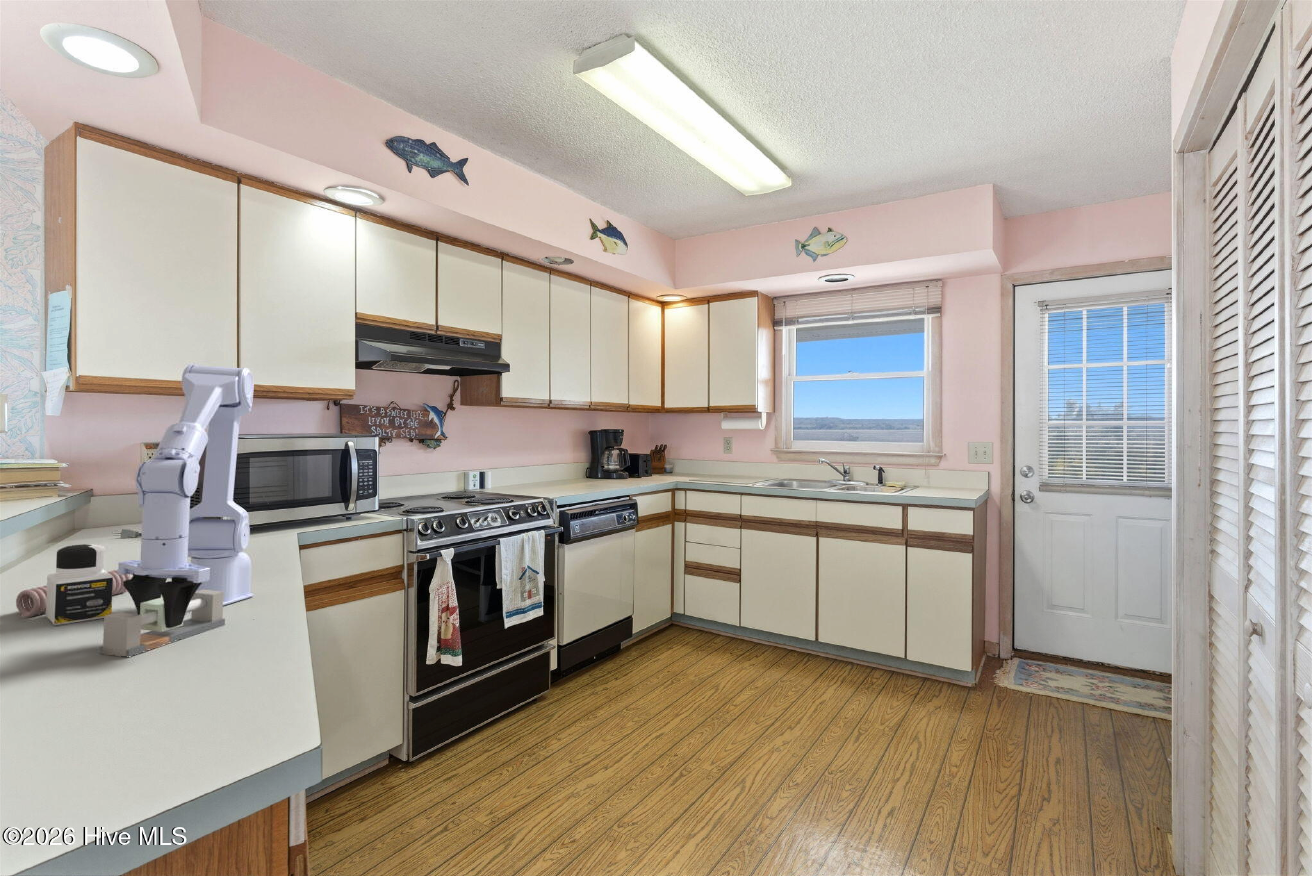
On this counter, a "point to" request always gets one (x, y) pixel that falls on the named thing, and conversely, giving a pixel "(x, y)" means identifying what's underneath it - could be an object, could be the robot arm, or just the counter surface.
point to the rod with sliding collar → (128, 640)
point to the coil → (39, 595)
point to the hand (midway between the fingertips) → (161, 624)
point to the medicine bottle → (79, 585)
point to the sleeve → (160, 624)
